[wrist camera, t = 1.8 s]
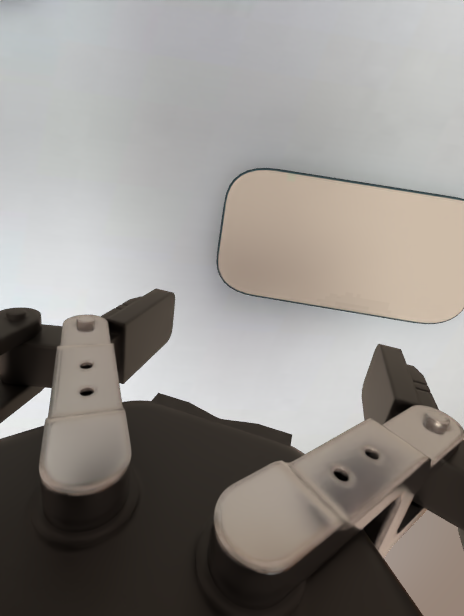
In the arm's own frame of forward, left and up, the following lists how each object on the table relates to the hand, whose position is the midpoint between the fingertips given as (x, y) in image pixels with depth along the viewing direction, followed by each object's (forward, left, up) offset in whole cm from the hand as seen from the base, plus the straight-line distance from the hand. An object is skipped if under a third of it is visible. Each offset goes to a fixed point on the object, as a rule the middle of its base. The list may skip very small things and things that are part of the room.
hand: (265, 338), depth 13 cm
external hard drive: (+4, +7, -21) cm, 23 cm away
